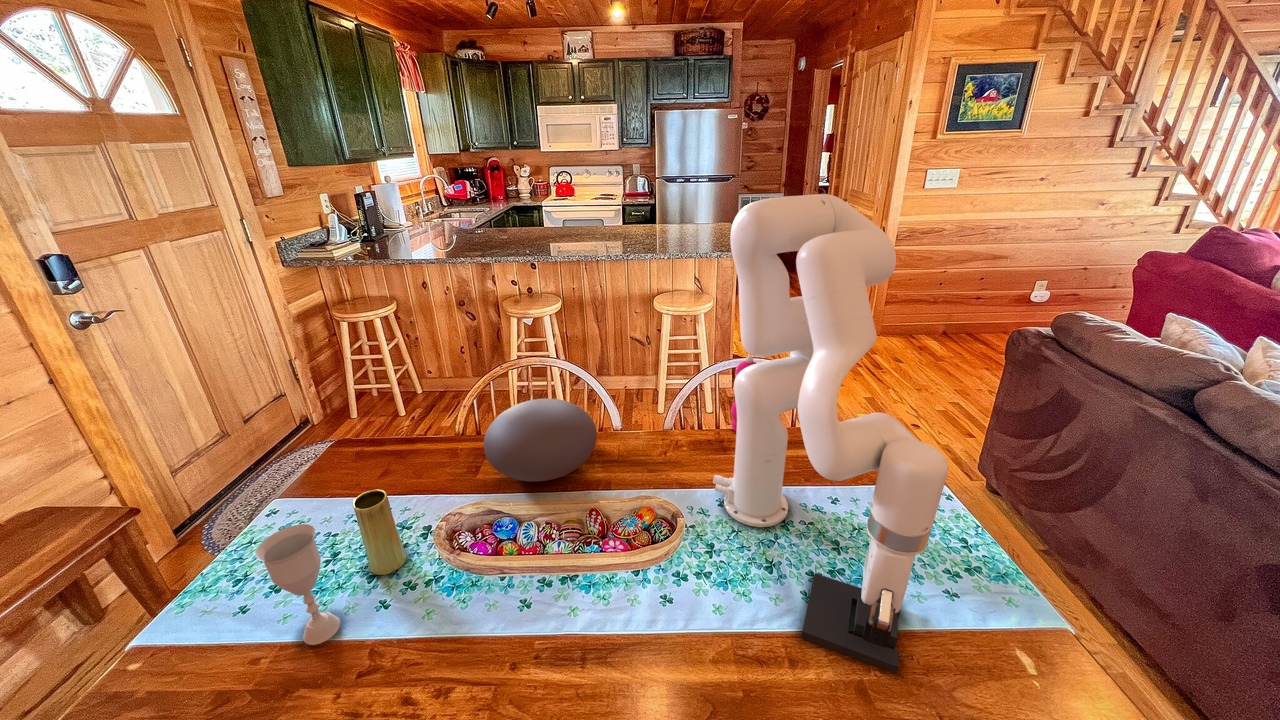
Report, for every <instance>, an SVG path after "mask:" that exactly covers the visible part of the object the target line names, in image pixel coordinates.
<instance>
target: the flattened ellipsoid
mask: <svg viewBox="0 0 1280 720" xmlns="http://www.w3.org/2000/svg"><path fill="white" fill-rule="evenodd" d="M597 439H598V432H597V426H596V424H595V422H594V420H593V418H592V417H591V416H590V414H589V413H588V412H587V411H586V410H585V409H583V408H582V407H580V406H578V405H577V404H575V403H573V402H569V401H566V400H563V399H559V398H535V399H530V400H525V401H522V402H519V403H516V404H514V405H513V406H511V407H508V408H507V409H504V411H502V412H501V413H500V414H498V415H497V416H496V418H494V420H493V421H492V422H491V423H490V424H489V426H488V428H487V429H486V432H485V434H484V437H483V452H484V455H485V458H486V460H487V461H488V463H489V464H490V465H491V466H492V468H494V469H495V470H496V471H497V472H498V473H500V474H502V475H504V476H506V477H507V478H510V479H513V480H516V481H522V482H529V483H531V482H532V483H533V482H534V483H535V482H536V483H537V482H548V481H551V480H556V479H559V478H563V477H565V476H566V475H569V474H571V473H573V472H574V471H576V470H577V469H579V468H580V467H582V465H584V464H585V462H586V461H587V460H589V458H591V456H592V453H593V451H594V450H595V448H596V445H597Z"/></svg>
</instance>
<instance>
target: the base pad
mask: <svg viewBox="0 0 1280 720" xmlns="http://www.w3.org/2000/svg"><path fill="white" fill-rule="evenodd" d="M861 594H862V587H860V586H856V585H852V584H849V583H847V582H843V581H840V580H838V579H834V578H831V577H828V576H825V575H822V574H819V573H816V572H815V573H814V575H813V579H812V584H811V588H810V593H809V598H808V602H807V607H806V612H805V617H804V619H803V620H804V621H803V625H802V629H801V635H800V638H801V639H803V640H806V641H807V642H811V643H813V644H816V645H818V646H821V647H824V648H827V649H830V650H832V651H835V652H838V653H839V654H841V655H844V656H845V655H846V656H848V657H851V658H853V659H855V660H858V661H861V662H864V663H867V664H869V665H871V666H873V667H876V668H880V669H883V670H885V671H888V672H890V673H893V674H895V675H896V674H897V673H898V671H899V664H900V663H899V662H900V651H899V650H897V649H891V648H888V647H886V648H885V647H882V646H879V645H876V644H873V643H871V642H868V641H865V640H863V638H861V637H858V636H855V635H853V633H850V632H849V629H850V622H851V615H852V608H853V607H852V606H854V607H856V605H857V600H858V596H859V595H861ZM880 600H881V597H879V599H878V600H877V601H879V602H880ZM900 614H901V610H900V611H899V612H898V619H899V618H900Z"/></svg>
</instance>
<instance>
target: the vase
mask: <svg viewBox="0 0 1280 720" xmlns="http://www.w3.org/2000/svg"><path fill="white" fill-rule="evenodd" d="M352 508H353V510H354V514H355V517H356V521H357V524H358V528H359V532H360V535H361V539H362V543H363V546H364V550H365V554H366V557H367V561H368V569H369V571H370V572H371V573H372V574H373V575H377V576H385V575H389V574H392V573H393V572H396V571H397V570H398V569H400V568H401V567H402V566H403V565H404V564H405V562H406V560H407V558H408V557H407V556H408V555H407V553H406V551H405V548H404V545H403V542H402V539H401V536H400V534H399V531H398V527H397V525H396V522H395V518H394V515H393V512H392V508H391V503H390V499H389V497H388V495H387V492H386V491H384V490H383V489H371V490H367V491H364V492H362V493H360V494H359V495H358V496H356V497H355V498H354V499H353V501H352Z"/></svg>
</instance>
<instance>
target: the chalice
mask: <svg viewBox="0 0 1280 720" xmlns="http://www.w3.org/2000/svg"><path fill="white" fill-rule="evenodd" d="M315 536H316V529H315V527H314V526H313V525H310V524H302V523H300V524H295V525H291V526H287V527H285V528H282V529H280V530H278V531H276V532H274V533H272V534H271V535H269V536H267V538H265V539H264V540H263V541H262V542H261V543H260V544H259V545H258V547H257V548H256V549H255V555H254V556H255V558H256V560H257V561H259V562H262V563H263V564H264V566H265V568H266V571H267V573H268V575H269V577H270V580H271V581H272V584H273V585H276V586H277V587H279V588H280V589H281V590H283V591H285V592H288V593H290V594H292V595H295V596H303V601H302V603H303V604H305V605H307V607H306V609H305V612H306V613H307V614H310V616H311V617H309V618H308V620H307V621H306V622H305V625H304V630H303V635H302V640H303V642H304V643H305V644H306V645H308V646H315V645H320V644H322V643H325V642H326V641H328V640H329V639H332V637H333V636H334V635H335V634H336V633H337V632H338V631H339V630H340V626H341V620H340V618H339V616H336V615H335V614H333V613H332V612H330V611H320V610H319V609H320V606H321V604H320V603H319V602H316V598H317V597H316V596H317V595H315V594H313V593H312V590H313V589H314V588H315V587H316V585H317V580H318V578H319V575H320V571H321V570H320V569H321V554H320V551H319V549H318V546H317V543H316V541H315Z"/></svg>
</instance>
